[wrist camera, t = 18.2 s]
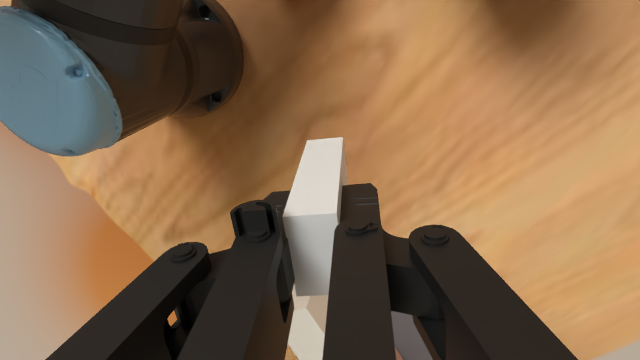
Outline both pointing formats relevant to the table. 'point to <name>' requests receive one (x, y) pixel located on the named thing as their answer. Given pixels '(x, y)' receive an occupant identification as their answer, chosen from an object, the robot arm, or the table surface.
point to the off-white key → (308, 326)
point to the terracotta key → (398, 355)
